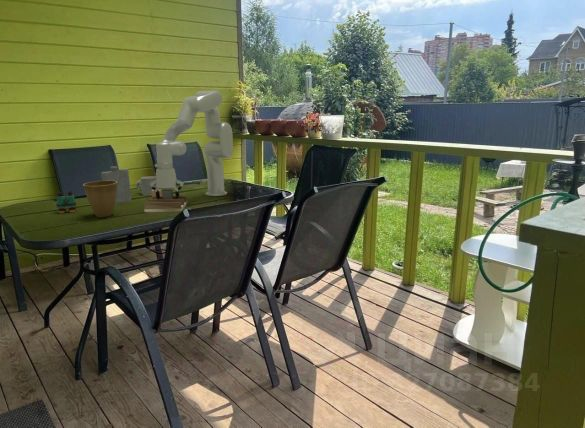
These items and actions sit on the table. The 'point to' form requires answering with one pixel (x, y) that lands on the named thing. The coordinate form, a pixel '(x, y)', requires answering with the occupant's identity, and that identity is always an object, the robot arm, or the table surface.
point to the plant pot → (101, 196)
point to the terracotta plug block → (155, 193)
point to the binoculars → (66, 202)
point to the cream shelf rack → (166, 204)
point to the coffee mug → (146, 185)
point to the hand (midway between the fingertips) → (167, 198)
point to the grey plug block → (167, 194)
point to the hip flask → (119, 183)
